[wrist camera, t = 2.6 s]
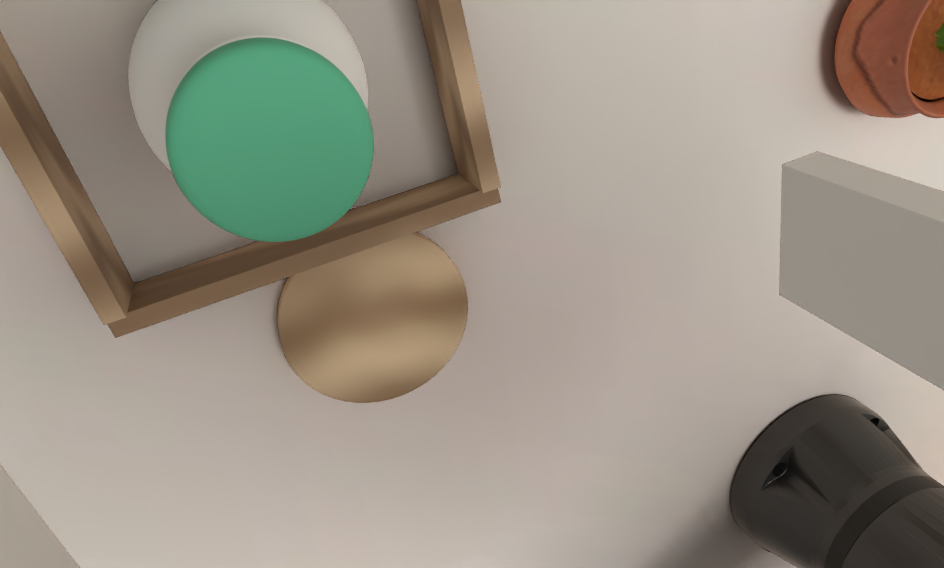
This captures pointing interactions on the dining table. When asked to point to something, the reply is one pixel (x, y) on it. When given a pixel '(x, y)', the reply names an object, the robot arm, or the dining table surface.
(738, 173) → the dining table surface
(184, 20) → the milk bottle
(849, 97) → the potted flower
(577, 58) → the dining table surface
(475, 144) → the cold frame
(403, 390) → the disc
